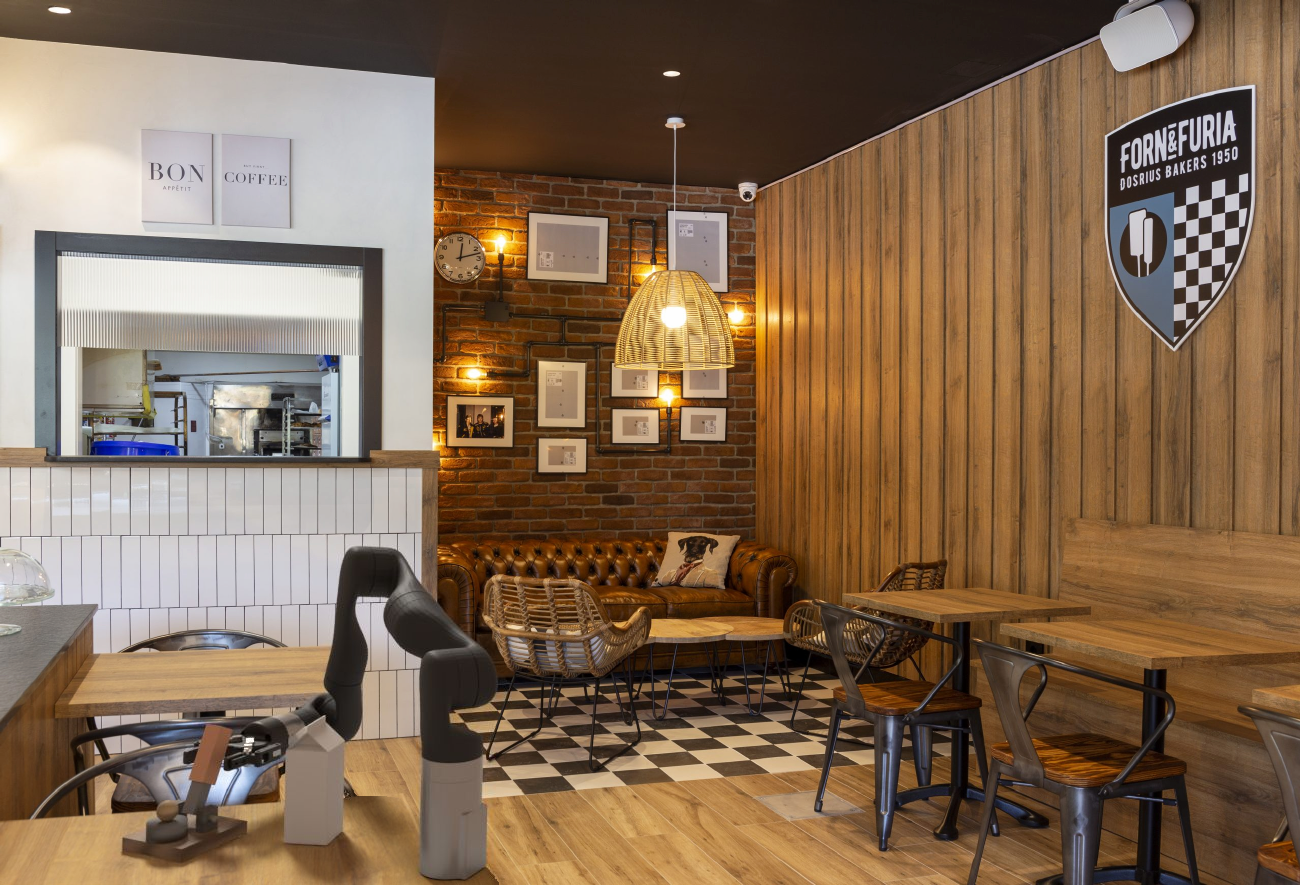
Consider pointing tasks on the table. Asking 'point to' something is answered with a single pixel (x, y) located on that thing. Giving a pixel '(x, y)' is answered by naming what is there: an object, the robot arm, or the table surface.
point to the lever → (206, 766)
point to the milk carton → (314, 785)
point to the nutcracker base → (189, 842)
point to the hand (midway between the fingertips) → (204, 761)
